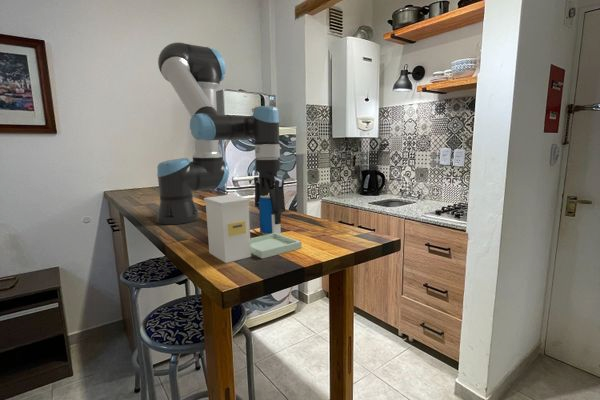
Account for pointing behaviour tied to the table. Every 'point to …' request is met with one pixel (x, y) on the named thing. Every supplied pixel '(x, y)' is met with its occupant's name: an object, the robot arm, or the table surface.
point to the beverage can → (265, 214)
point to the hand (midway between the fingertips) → (270, 231)
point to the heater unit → (228, 227)
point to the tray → (273, 245)
